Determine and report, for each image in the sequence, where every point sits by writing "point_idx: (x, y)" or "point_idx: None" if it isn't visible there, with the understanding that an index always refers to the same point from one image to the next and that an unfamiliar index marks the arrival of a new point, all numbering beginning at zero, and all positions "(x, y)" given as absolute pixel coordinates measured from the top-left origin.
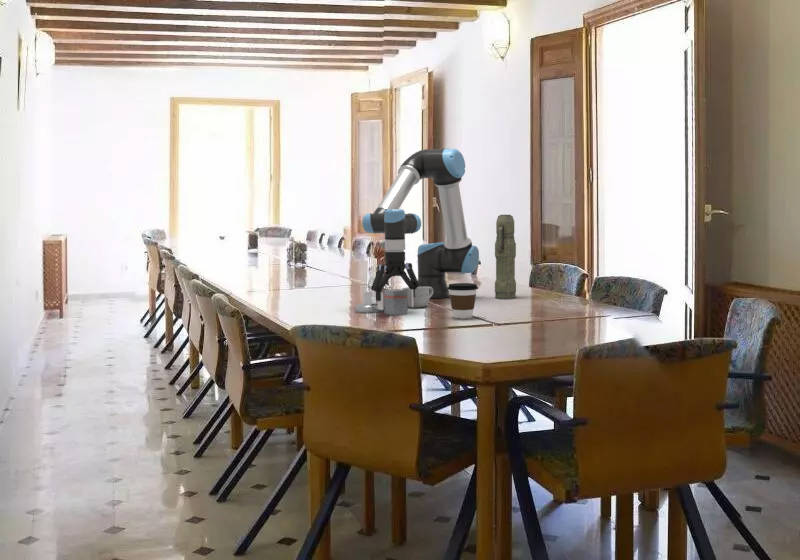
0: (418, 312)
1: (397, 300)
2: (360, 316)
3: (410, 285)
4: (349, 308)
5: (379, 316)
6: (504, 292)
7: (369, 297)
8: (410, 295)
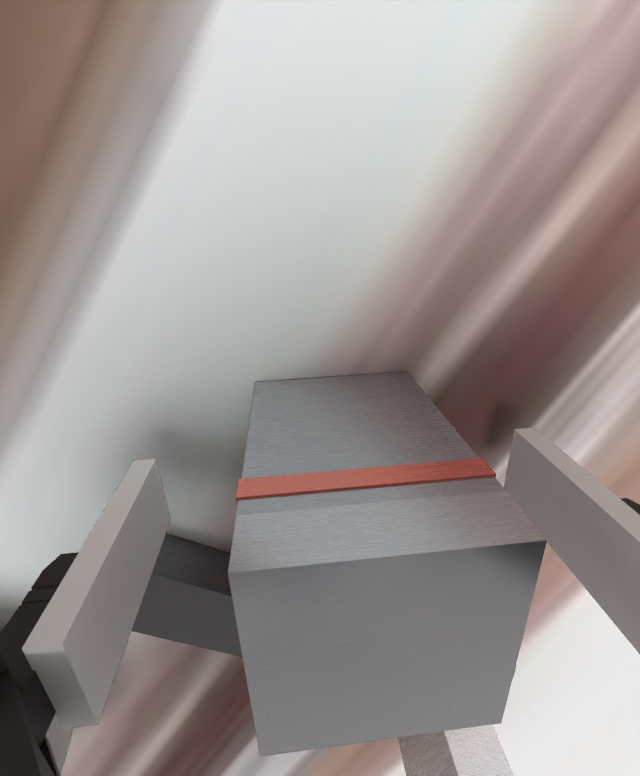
0: (95, 428)
1: (403, 448)
2: (615, 477)
3: (37, 753)
4: (401, 760)
5: (524, 399)
6: None
7: (460, 736)
8: (115, 578)
